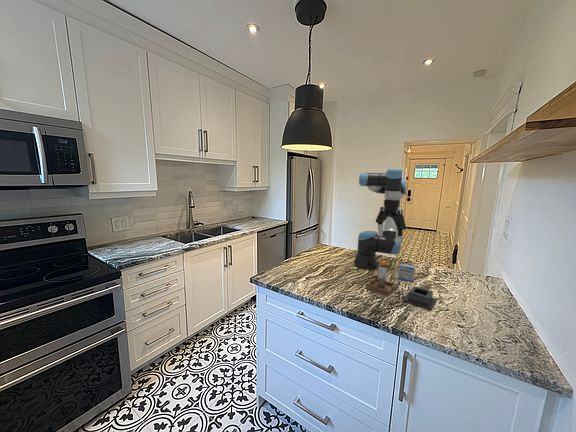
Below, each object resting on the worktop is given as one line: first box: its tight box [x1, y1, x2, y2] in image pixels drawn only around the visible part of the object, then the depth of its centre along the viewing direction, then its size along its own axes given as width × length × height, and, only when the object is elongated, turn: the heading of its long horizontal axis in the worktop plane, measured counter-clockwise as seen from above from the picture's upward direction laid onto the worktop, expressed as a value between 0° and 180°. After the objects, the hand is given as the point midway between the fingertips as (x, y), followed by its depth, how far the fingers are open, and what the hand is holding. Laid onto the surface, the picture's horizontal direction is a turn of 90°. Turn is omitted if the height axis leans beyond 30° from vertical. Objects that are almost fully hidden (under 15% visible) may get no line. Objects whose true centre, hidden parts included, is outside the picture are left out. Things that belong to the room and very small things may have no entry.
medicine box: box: [397, 263, 416, 283], centre depth 143 cm, size 8×4×9 cm, turn 62°
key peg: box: [377, 259, 388, 289], centre depth 130 cm, size 4×4×15 cm
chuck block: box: [402, 285, 438, 312], centre depth 118 cm, size 12×12×5 cm
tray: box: [365, 277, 398, 297], centre depth 131 cm, size 12×12×3 cm
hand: (388, 238), depth 130 cm, fingers open, 13 cm apart
